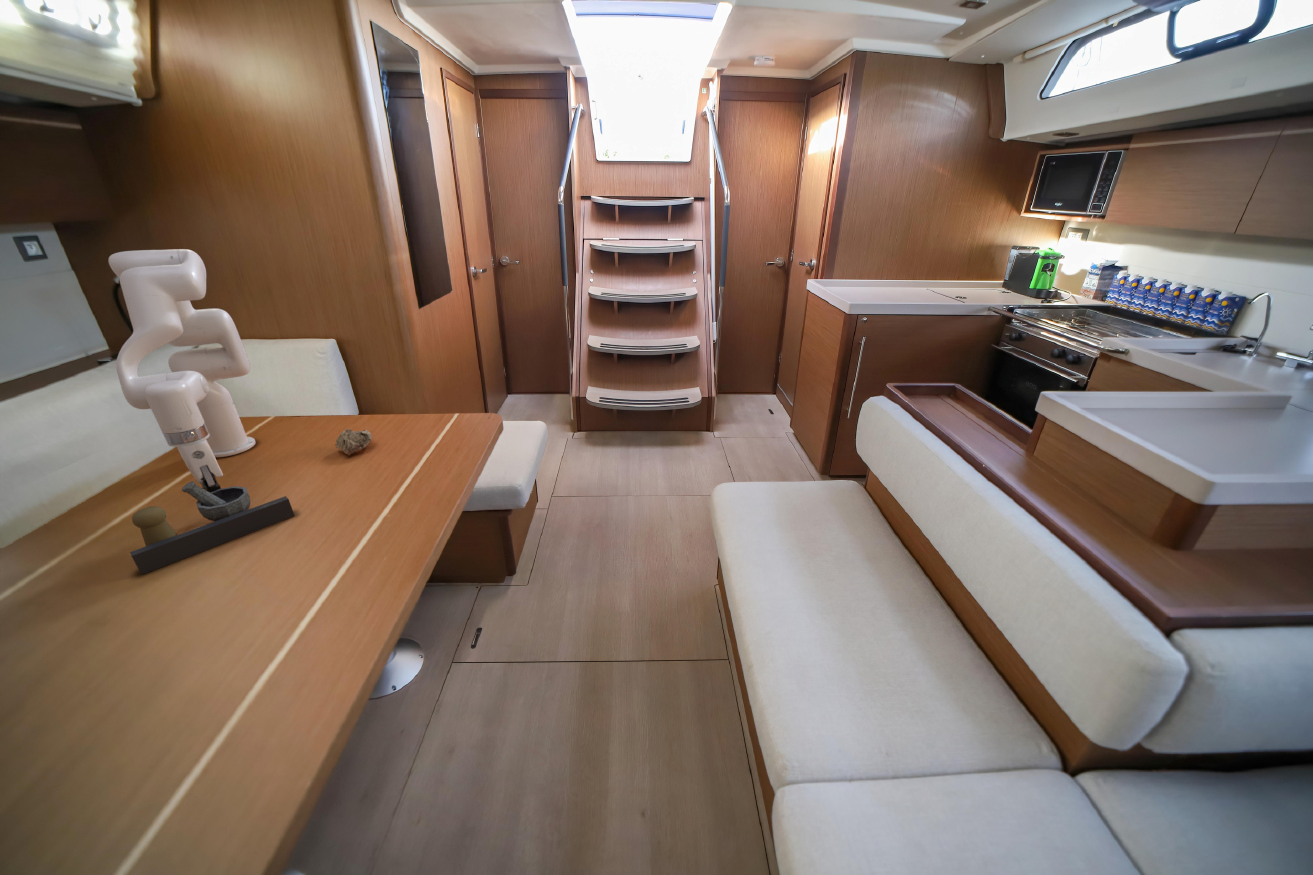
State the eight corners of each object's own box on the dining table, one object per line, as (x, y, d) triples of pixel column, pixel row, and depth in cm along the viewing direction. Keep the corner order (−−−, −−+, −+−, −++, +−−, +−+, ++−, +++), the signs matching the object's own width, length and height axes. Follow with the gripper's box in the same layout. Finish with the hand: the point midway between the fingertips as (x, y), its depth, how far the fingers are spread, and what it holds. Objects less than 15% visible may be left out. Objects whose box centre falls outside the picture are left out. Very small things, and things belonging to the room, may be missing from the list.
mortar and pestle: (261, 506, 127) (244, 465, 122) (253, 526, 120) (234, 483, 114) (206, 516, 123) (186, 474, 118) (193, 538, 115) (172, 494, 110)
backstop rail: (140, 570, 105) (129, 552, 103) (292, 512, 125) (285, 495, 123) (142, 575, 104) (131, 556, 102) (294, 515, 124) (288, 498, 121)
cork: (191, 546, 113) (171, 505, 108) (160, 562, 108) (137, 520, 103) (174, 540, 115) (153, 500, 110) (142, 556, 109) (119, 515, 105)
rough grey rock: (345, 466, 152) (374, 450, 152) (327, 450, 148) (358, 434, 148) (351, 447, 161) (379, 432, 161) (334, 431, 157) (363, 416, 157)
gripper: (215, 437, 114) (243, 504, 122) (199, 420, 123) (227, 483, 131) (172, 449, 109) (205, 518, 117) (158, 429, 117) (190, 495, 126)
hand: (216, 499), depth 124 cm, fingers closed
